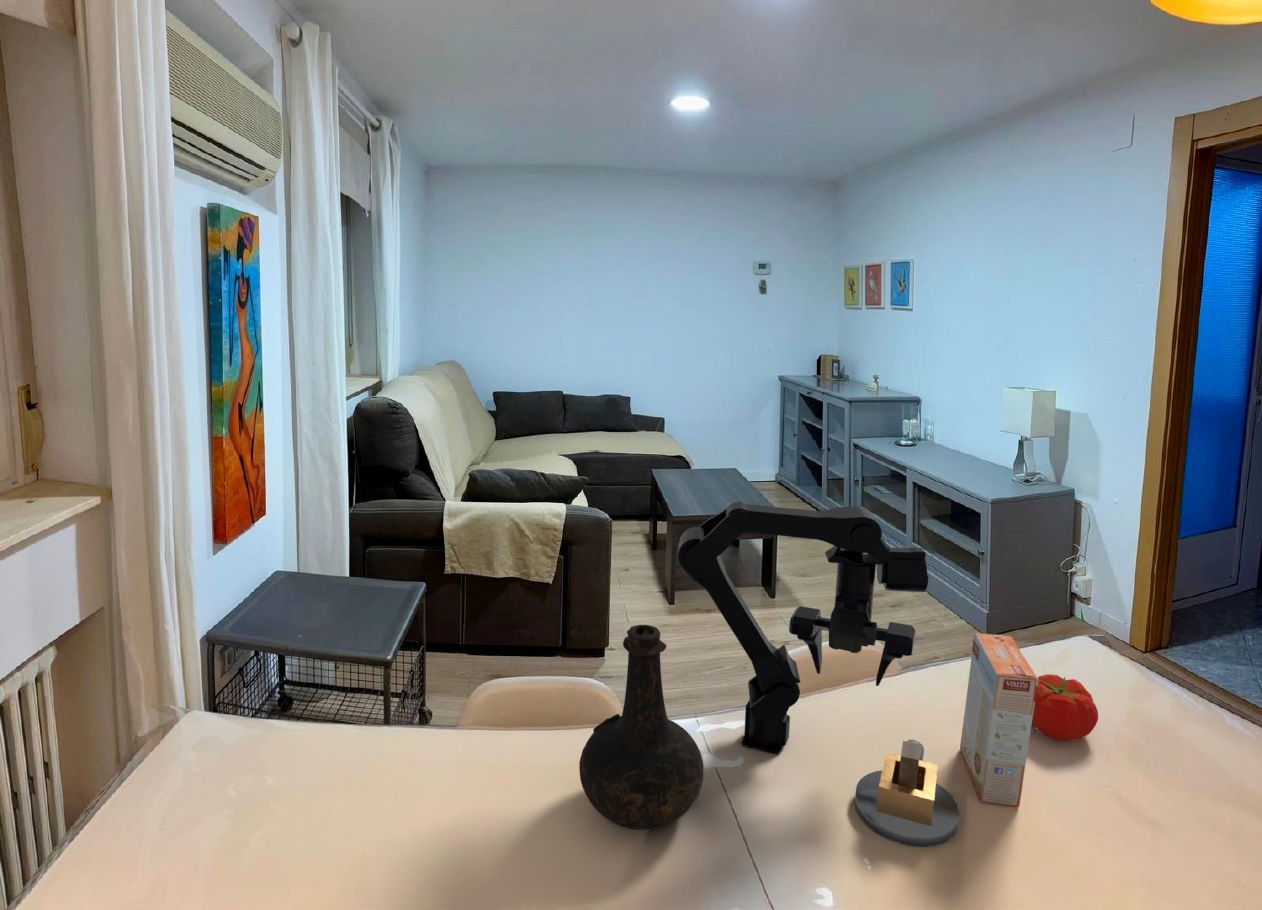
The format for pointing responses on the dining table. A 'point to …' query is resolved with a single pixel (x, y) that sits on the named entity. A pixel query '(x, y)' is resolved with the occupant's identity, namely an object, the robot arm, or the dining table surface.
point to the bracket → (907, 804)
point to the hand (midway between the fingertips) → (847, 678)
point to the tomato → (1063, 709)
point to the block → (909, 764)
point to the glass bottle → (641, 749)
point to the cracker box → (998, 718)
